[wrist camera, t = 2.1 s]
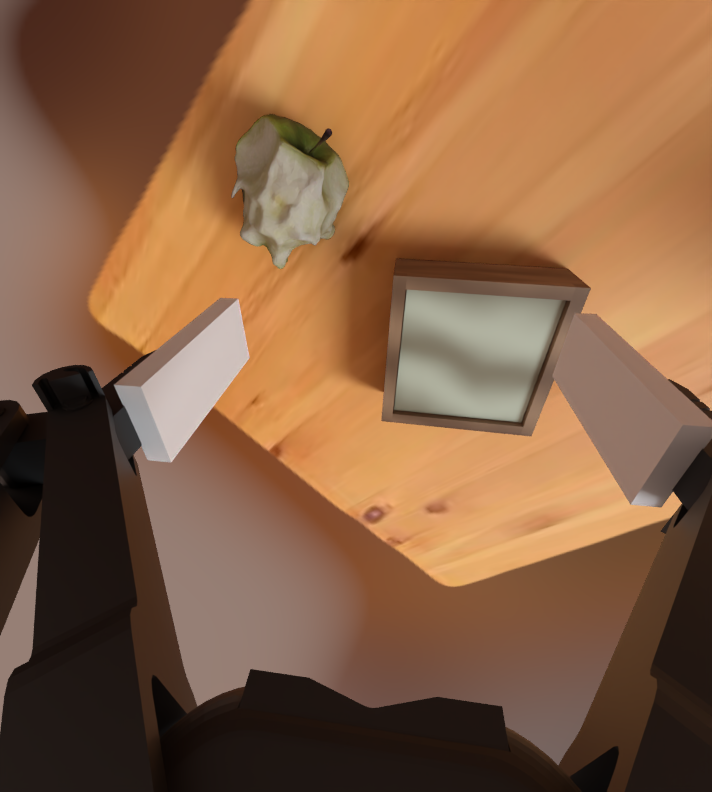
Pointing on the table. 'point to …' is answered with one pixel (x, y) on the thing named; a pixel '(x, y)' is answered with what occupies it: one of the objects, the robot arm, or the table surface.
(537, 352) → the stand
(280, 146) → the fruit
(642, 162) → the table surface
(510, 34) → the table surface
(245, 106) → the table surface
